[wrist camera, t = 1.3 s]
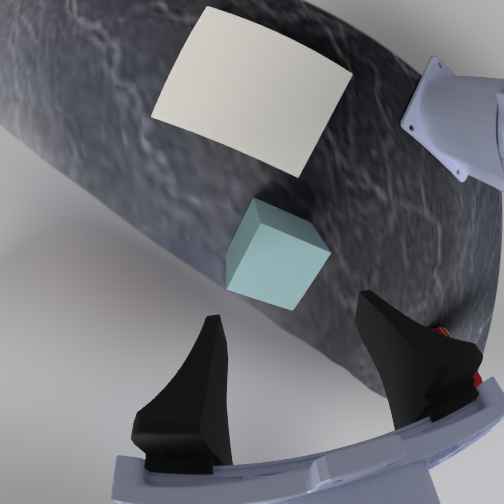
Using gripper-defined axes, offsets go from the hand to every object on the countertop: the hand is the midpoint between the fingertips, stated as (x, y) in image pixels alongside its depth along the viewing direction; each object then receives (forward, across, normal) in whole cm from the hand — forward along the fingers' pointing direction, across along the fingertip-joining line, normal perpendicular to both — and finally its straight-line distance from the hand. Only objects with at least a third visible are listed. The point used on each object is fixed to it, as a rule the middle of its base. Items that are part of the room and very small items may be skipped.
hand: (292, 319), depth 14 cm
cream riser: (+9, 0, -11) cm, 15 cm away
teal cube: (+10, 0, 0) cm, 10 cm away
